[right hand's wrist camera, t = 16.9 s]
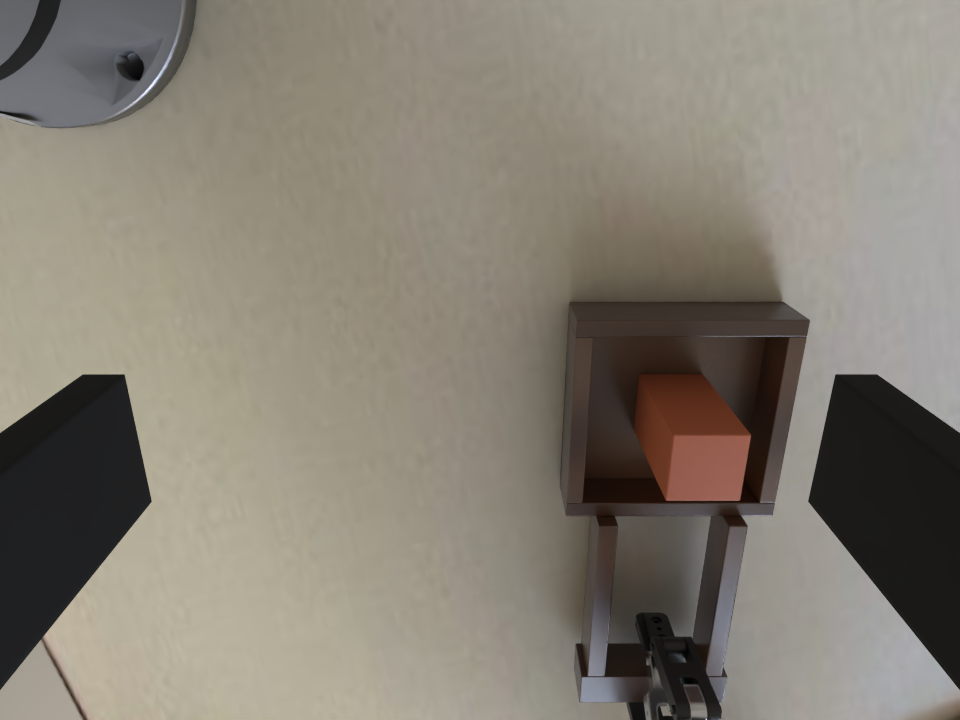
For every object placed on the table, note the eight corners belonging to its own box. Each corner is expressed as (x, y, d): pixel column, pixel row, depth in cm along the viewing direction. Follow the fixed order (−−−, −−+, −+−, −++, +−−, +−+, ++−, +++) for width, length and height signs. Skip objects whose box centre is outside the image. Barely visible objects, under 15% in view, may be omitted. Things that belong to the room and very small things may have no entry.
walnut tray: (569, 302, 40) (579, 326, 36) (783, 301, 40) (818, 325, 36) (551, 652, 51) (557, 702, 47) (722, 652, 51) (744, 702, 47)
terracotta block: (638, 373, 42) (673, 434, 34) (703, 373, 42) (751, 434, 34) (633, 430, 43) (665, 501, 36) (695, 430, 43) (740, 501, 36)
